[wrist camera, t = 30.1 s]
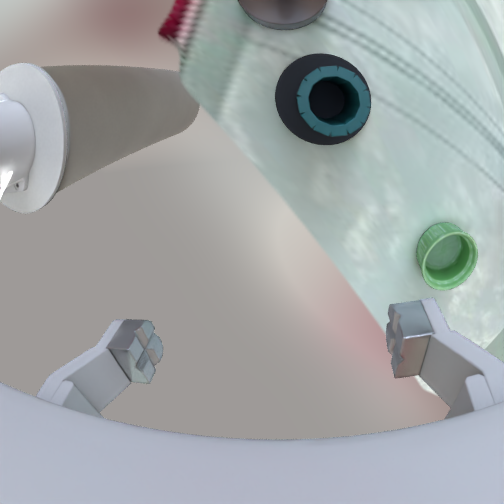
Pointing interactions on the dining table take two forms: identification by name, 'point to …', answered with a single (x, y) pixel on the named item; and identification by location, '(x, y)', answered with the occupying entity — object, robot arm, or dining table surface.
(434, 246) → the ramekin
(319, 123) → the teal ribbed hollow cylinder
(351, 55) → the dining table surface
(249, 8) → the holder
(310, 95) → the coaster
